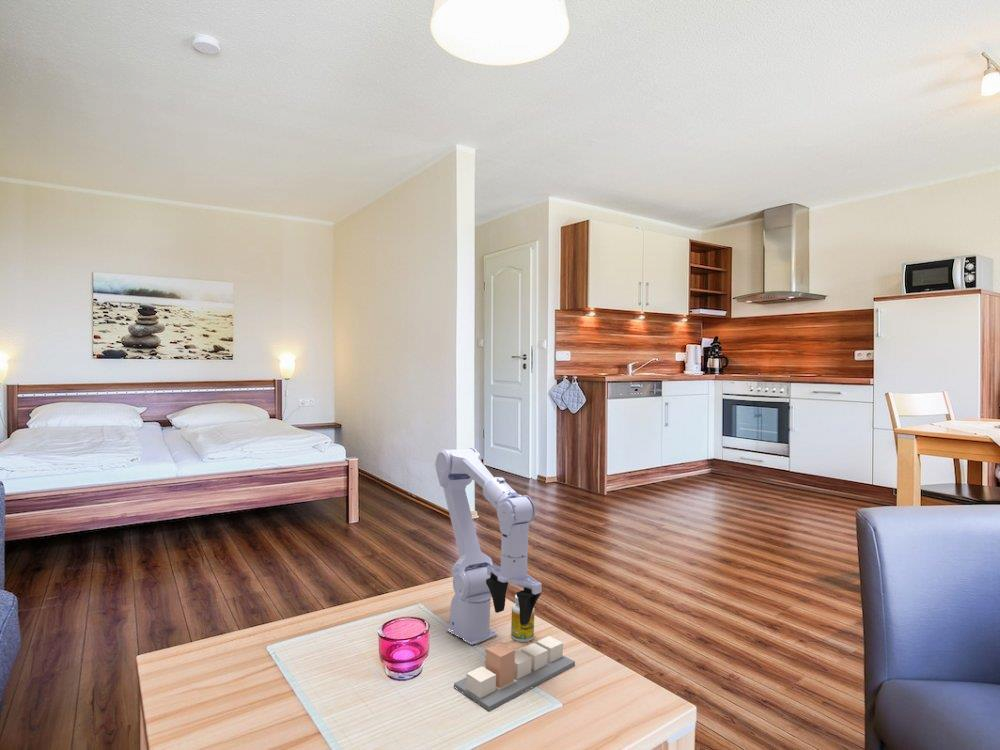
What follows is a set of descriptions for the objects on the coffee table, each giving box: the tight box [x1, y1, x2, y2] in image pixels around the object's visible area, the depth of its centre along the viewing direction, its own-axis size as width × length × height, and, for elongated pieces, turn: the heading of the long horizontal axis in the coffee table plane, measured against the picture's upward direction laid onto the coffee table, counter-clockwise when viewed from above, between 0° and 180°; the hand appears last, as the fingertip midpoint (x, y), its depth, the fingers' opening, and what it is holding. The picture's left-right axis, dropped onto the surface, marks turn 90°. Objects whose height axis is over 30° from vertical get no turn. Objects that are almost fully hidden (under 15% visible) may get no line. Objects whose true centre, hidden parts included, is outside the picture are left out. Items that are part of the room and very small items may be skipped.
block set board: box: [453, 635, 576, 712], centre depth 113 cm, size 10×25×4 cm, turn 134°
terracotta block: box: [485, 642, 516, 688], centre depth 110 cm, size 4×4×6 cm
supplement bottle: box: [510, 594, 536, 643], centre depth 130 cm, size 5×5×10 cm
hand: (511, 617), depth 119 cm, fingers open, 7 cm apart
